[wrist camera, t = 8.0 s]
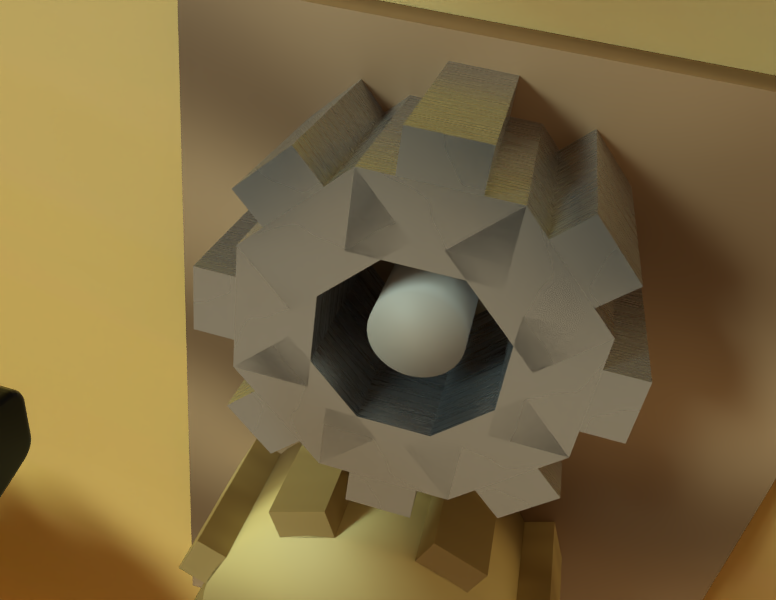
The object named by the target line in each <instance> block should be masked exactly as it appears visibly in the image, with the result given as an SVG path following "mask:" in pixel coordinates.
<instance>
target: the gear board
mask: <svg viewBox="0 0 776 600" xmlns="http://www.w3.org/2000/svg"><path fill="white" fill-rule="evenodd" d="M178 32H179V70H180V109H181V148H182V186H183V225H184V264H185V302H186V341H187V380H188V419H189V457H190V496H191V535H192V546H191V547H190V549H189V551H188V553H187V554H186V556H185V558H184V559H183V561H182V563H181V565H180V566H179V568H180V569H181V570H183V571H185V572H187V573H188V574H190V575H192V576H193V585H194V586H197V587H200V588H201V589H200V591H199V593H198V595H197V596H196V598H195V600H703V598H704V596H705V595H706V593H707V592H708V590H709V588H710V587H711V585H712V583H713V582H714V580H715V578H716V577H717V575H718V573H719V572H720V570H721V568H722V567H723V565H724V564H725V562H726V560H727V559H728V557H729V555H730V554H731V552H732V550H733V549H734V547H735V545H736V544H737V542H738V540H739V539H740V537H741V535H742V534H743V532H744V531H745V529H746V527H747V526H748V524H749V522H750V521H751V519H752V517H753V516H754V514H755V512H756V511H757V509H758V507H759V506H760V504H761V502H762V501H763V499H764V498H765V496H766V494H767V493H768V491H769V489H770V488H771V486H772V484H773V483H774V481H775V479H776V76H774V75H769V74H764V73H759V72H753V71H748V70H743V69H738V68H732V67H727V66H722V65H716V64H711V63H706V62H701V61H695V60H690V59H685V58H680V57H674V56H669V55H664V54H659V53H653V52H648V51H643V50H637V49H632V48H627V47H622V46H616V45H611V44H606V43H601V42H595V41H590V40H585V39H580V38H574V37H569V36H564V35H559V34H553V33H548V32H543V31H537V30H532V29H527V28H522V27H516V26H511V25H506V24H501V23H495V22H490V21H485V20H480V19H474V18H469V17H464V16H458V15H453V14H448V13H443V12H437V11H432V10H427V9H422V8H416V7H411V6H406V5H401V4H395V3H390V2H385V1H379V0H178ZM448 61H452V62H456V63H461V64H466V65H471V66H476V67H481V68H486V69H491V70H495V71H500V72H505V73H510V74H515V75H520V76H519V80H518V84H517V88H516V93H515V97H514V101H513V105H512V110H511V114H510V117H515V118H519V119H524V120H529V121H533V122H538V123H542V124H543V125H544V127H545V128H546V130H547V132H548V133H549V135H550V136H551V138H552V140H553V141H554V143H555V144H556V146H557V147H558V149H559V150H561V149H563V148H565V147H566V146H568V145H570V144H571V143H573V142H575V141H577V140H578V139H580V138H582V137H584V136H585V135H587V134H589V133H591V132H592V131H594V130H596V129H597V130H598V132H599V134H600V135H601V137H602V139H603V140H604V142H605V144H606V145H607V147H608V149H609V150H610V152H611V154H612V155H613V157H614V159H615V160H616V162H617V164H618V165H619V167H620V168H621V170H622V172H623V173H624V175H625V177H626V178H627V180H628V182H629V183H630V185H631V187H632V195H633V204H634V213H635V221H636V230H637V238H638V247H639V255H640V264H641V272H642V281H643V287H642V296H643V305H644V314H645V323H646V332H647V341H648V349H649V358H650V367H651V376H652V384H651V387H650V389H649V391H648V393H647V396H646V398H645V400H644V403H643V405H642V407H641V409H640V412H639V414H638V416H637V419H636V421H635V423H634V425H633V428H632V430H631V432H630V435H629V437H628V439H627V441H626V444H625V443H621V442H617V441H613V440H610V439H606V438H602V437H598V436H595V435H591V434H587V433H583V432H580V431H579V433H578V436H577V438H576V441H575V444H574V446H573V449H572V451H571V454H570V457H569V458H566V459H564V460H562V474H561V493H560V498H559V499H556V500H553V501H550V502H547V503H543V504H540V505H537V506H534V507H531V508H528V509H525V510H522V511H518V512H515V513H512V514H509V515H506V516H503V517H500V518H497V517H496V516H495V514H494V513H493V512H492V511H491V509H490V508H489V507H488V506H487V505H486V503H485V502H484V501H483V500H482V498H481V497H480V496H479V495H478V493H477V492H476V491H472V492H469V493H466V494H463V495H460V496H457V497H454V498H452V499H449V500H447V499H443V498H440V497H436V496H432V495H429V494H425V493H422V492H418V491H417V494H416V498H415V501H414V505H413V508H412V512H411V516H410V518H409V517H405V516H402V515H398V514H395V513H391V512H388V511H384V510H381V509H377V508H374V507H371V506H367V505H364V504H360V503H357V502H353V501H350V500H346V499H345V498H346V491H347V485H348V478H349V472H348V471H344V470H341V469H337V468H334V467H330V466H327V465H323V464H320V463H318V462H317V460H316V459H315V458H314V457H313V456H312V455H311V454H310V453H309V451H308V450H307V449H306V448H305V447H304V446H303V445H302V444H301V442H300V441H298V442H296V443H293V444H291V445H289V446H287V447H284V448H282V449H280V450H278V451H276V452H273V453H270V452H269V451H268V450H267V449H266V448H265V447H264V446H263V445H262V443H261V442H260V441H259V440H258V439H257V438H256V437H255V436H254V435H253V434H252V432H251V431H250V430H249V429H248V428H247V427H246V426H245V425H244V424H243V423H242V421H241V420H240V419H239V418H238V417H237V416H236V415H235V414H234V413H233V412H232V410H231V409H230V408H229V407H228V406H227V404H228V403H229V402H230V400H231V399H232V397H233V396H234V394H235V393H236V391H237V390H238V388H239V387H240V385H241V384H242V382H243V381H244V378H243V377H242V376H241V375H240V374H239V373H238V371H237V370H236V369H235V368H234V367H233V359H234V340H233V339H229V338H226V337H222V336H218V335H214V334H210V333H207V332H203V331H199V330H195V329H194V306H193V266H194V265H195V264H196V263H197V262H198V261H199V260H200V259H201V258H202V256H203V255H204V254H205V253H206V252H207V251H208V250H209V249H210V248H211V247H212V246H213V245H214V244H215V243H216V242H217V241H218V240H219V239H220V238H221V237H222V236H223V235H224V234H225V233H226V232H227V231H228V230H229V229H230V228H231V227H232V226H233V225H234V224H235V223H236V222H237V221H238V220H239V219H240V218H241V217H242V216H243V215H244V214H245V213H246V212H247V211H248V209H247V207H246V206H245V205H244V204H243V202H242V201H241V200H240V199H239V198H238V196H237V195H236V194H235V193H234V191H233V190H232V188H233V187H234V186H235V185H236V184H237V183H238V182H239V181H240V180H242V179H243V178H244V177H245V176H246V175H247V174H248V173H249V172H250V171H251V170H253V169H254V168H255V167H256V166H257V165H258V164H259V163H260V162H261V161H262V160H264V159H265V158H266V157H267V156H268V155H269V154H270V153H271V152H272V151H273V150H275V149H276V148H277V147H278V146H279V145H280V144H281V143H282V142H283V141H284V140H285V139H287V138H288V137H289V136H290V135H291V134H292V133H293V132H294V131H295V130H296V129H298V128H299V127H300V126H301V125H302V124H303V123H304V122H305V121H306V120H307V119H309V118H310V117H311V116H312V115H313V114H315V113H316V112H317V111H319V110H320V109H321V108H323V107H324V106H326V105H327V104H328V103H330V102H331V101H332V100H334V99H335V98H336V97H338V96H339V95H340V94H342V93H343V92H345V91H346V90H347V89H349V88H350V87H351V86H353V85H354V84H355V83H357V82H358V81H359V80H361V79H362V81H363V82H364V83H365V85H366V86H367V88H368V89H369V91H370V92H371V93H372V95H373V96H374V98H375V99H376V101H377V102H378V103H379V105H380V106H381V108H382V109H383V111H384V112H386V111H388V110H389V109H391V108H392V107H394V106H395V105H397V104H398V103H399V102H401V101H402V100H404V99H405V98H407V97H408V96H410V95H411V96H416V97H421V98H423V96H424V95H425V93H426V92H427V91H428V89H429V88H430V86H431V85H432V84H433V82H434V81H435V79H436V78H437V77H438V75H439V74H440V72H441V71H442V70H443V68H444V67H445V65H446V64H447V63H448ZM371 266H372V267H373V268H374V270H375V271H376V272H377V273H378V275H379V276H380V277H381V279H382V280H383V281H384V283H385V285H384V287H383V289H382V291H381V293H380V295H379V297H378V300H377V302H376V304H375V306H374V308H373V310H372V312H371V314H370V316H369V319H368V323H367V335H368V339H369V342H370V345H371V347H372V349H373V351H374V352H375V354H376V355H377V356H378V357H379V358H380V360H381V361H383V362H384V363H385V364H386V365H387V366H389V367H390V368H392V369H394V370H395V371H397V372H400V373H402V374H405V375H408V376H413V377H434V376H438V375H441V374H444V373H446V372H448V371H449V370H451V369H452V368H454V367H455V366H456V365H457V364H458V363H459V361H460V360H461V358H462V356H463V355H464V352H465V349H466V345H467V341H468V337H469V333H470V330H471V326H472V322H473V318H474V316H475V315H478V314H480V313H482V312H484V311H486V310H487V309H486V307H485V306H484V305H483V303H482V302H481V300H480V299H479V298H478V296H477V295H476V294H475V292H474V291H473V289H472V288H471V287H470V285H469V284H468V282H467V281H466V280H462V279H458V278H453V277H449V276H445V275H441V274H437V273H433V272H429V271H425V270H421V269H417V268H412V267H408V266H404V265H400V264H396V263H392V262H388V261H384V260H379V261H378V262H376V263H374V264H372V265H371Z"/></svg>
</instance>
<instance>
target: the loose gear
mask: <svg viewBox="0 0 776 600" xmlns="http://www.w3.org/2000/svg"><path fill="white" fill-rule="evenodd" d="M519 76H520V75H515V74H510V73H505V72H500V71H495V70H491V69H486V68H481V67H476V66H471V65H466V64H461V63H456V62H452V61H448V63H447V64H446V65H445V67H444V68H443V70H442V71H441V72H440V74H439V75H438V77H437V78H436V79H435V81H434V82H433V84H432V85H431V86H430V88H429V89H428V91H427V92H426V93H425V95H424V96H423V98H421V97H416V96H411V95H410V96H408V97H407V98H405V99H404V100H402V101H401V102H399V103H398V104H397V105H395V106H394V107H392V108H391V109H389V110H388V111H386V112H384V111H383V109H382V108H381V106H380V105H379V103H378V102H377V101H376V99H375V98H374V96H373V95H372V93H371V92H370V91H369V89H368V88H367V86H366V85H365V83H364V82H363V81H362V79H361V80H359V81H358V82H357V83H355V84H354V85H353V86H351V87H350V88H349V89H347V90H346V91H345V92H343V93H342V94H340V95H339V96H338V97H336V98H335V99H334V100H332V101H331V102H330V103H328V104H327V105H326V106H324V107H323V108H321V109H320V110H319V111H317V112H316V113H315V114H313V115H312V116H311V117H310V118H309V119H307V120H306V121H305V122H304V123H303V124H302V125H301V126H300V127H299V128H298V129H296V130H295V131H294V132H293V133H292V134H291V135H290V136H289V137H288V138H287V139H285V140H284V141H283V142H282V143H281V144H280V145H279V146H278V147H277V148H276V149H275V150H273V151H272V152H271V153H270V154H269V155H268V156H267V157H266V158H265V159H264V160H262V161H261V162H260V163H259V164H258V165H257V166H256V167H255V168H254V169H253V170H251V171H250V172H249V173H248V174H247V175H246V176H245V177H244V178H243V179H242V180H240V181H239V182H238V183H237V184H236V185H235V186H234V187H233V188H232V190H233V191H234V193H235V194H236V195H237V196H238V198H239V199H240V200H241V201H242V202H243V204H244V205H245V206H246V207H247V209H248V211H247V212H246V213H245V214H244V215H243V216H242V217H241V218H240V219H239V220H238V221H237V222H236V223H235V224H234V225H233V226H232V227H231V228H230V229H229V230H228V231H227V232H226V233H225V234H224V235H223V236H222V237H221V238H220V239H219V240H218V241H217V242H216V243H215V244H214V245H213V246H212V247H211V248H210V249H209V250H208V251H207V252H206V253H205V254H204V255H203V256H202V258H201V259H200V260H199V261H198V262H197V263H196V264H195V265H194V266H193V306H194V329H195V330H199V331H203V332H207V333H210V334H214V335H218V336H222V337H226V338H229V339H233V340H234V359H233V367H234V368H235V369H236V370H237V371H238V373H239V374H240V375H241V376H242V377H243V378H244V381H243V382H242V384H241V385H240V387H239V388H238V390H237V391H236V393H235V394H234V396H233V397H232V399H231V400H230V402H229V403H228V404H227V406H228V407H229V408H230V409H231V410H232V412H233V413H234V414H235V415H236V416H237V417H238V418H239V419H240V420H241V421H242V423H243V424H244V425H245V426H246V427H247V428H248V429H249V430H250V431H251V432H252V434H253V435H254V436H255V437H256V438H257V439H258V440H259V441H260V442H261V443H262V445H263V446H264V447H265V448H266V449H267V450H268V451H269V452H270V453H273V452H276V451H278V450H280V449H282V448H284V447H287V446H289V445H291V444H293V443H296V442H298V441H300V442H301V444H302V445H303V446H304V447H305V448H306V449H307V450H308V451H309V453H310V454H311V455H312V456H313V457H314V458H315V459H316V460H317V462H318V463H320V464H323V465H327V466H330V467H334V468H337V469H341V470H344V471H348V472H349V478H348V485H347V491H346V498H345V499H346V500H350V501H353V502H357V503H360V504H364V505H367V506H371V507H374V508H377V509H381V510H384V511H388V512H391V513H395V514H398V515H402V516H405V517H409V518H410V516H411V512H412V508H413V505H414V501H415V498H416V494H417V491H418V492H422V493H425V494H429V495H432V496H436V497H440V498H443V499H447V500H449V499H452V498H454V497H457V496H460V495H463V494H466V493H469V492H472V491H476V492H477V493H478V495H479V496H480V497H481V498H482V500H483V501H484V502H485V503H486V505H487V506H488V507H489V508H490V509H491V511H492V512H493V513H494V514H495V516H496V517H497V518H500V517H503V516H506V515H509V514H512V513H515V512H518V511H522V510H525V509H528V508H531V507H534V506H537V505H540V504H543V503H547V502H550V501H553V500H556V499H559V498H560V493H561V474H562V460H564V459H566V458H569V457H570V454H571V451H572V449H573V446H574V444H575V441H576V438H577V436H578V433H579V431H580V432H583V433H587V434H591V435H595V436H598V437H602V438H606V439H610V440H613V441H617V442H621V443H625V444H626V441H627V439H628V437H629V435H630V432H631V430H632V428H633V425H634V423H635V421H636V419H637V416H638V414H639V412H640V409H641V407H642V405H643V403H644V400H645V398H646V396H647V393H648V391H649V389H650V387H651V384H652V376H651V367H650V358H649V349H648V341H647V332H646V323H645V314H644V305H643V296H642V287H643V281H642V272H641V264H640V255H639V247H638V238H637V230H636V221H635V213H634V204H633V195H632V187H631V185H630V183H629V182H628V180H627V178H626V177H625V175H624V173H623V172H622V170H621V168H620V167H619V165H618V164H617V162H616V160H615V159H614V157H613V155H612V154H611V152H610V150H609V149H608V147H607V145H606V144H605V142H604V140H603V139H602V137H601V135H600V134H599V132H598V130H597V129H596V130H594V131H592V132H591V133H589V134H587V135H585V136H584V137H582V138H580V139H578V140H577V141H575V142H573V143H571V144H570V145H568V146H566V147H565V148H563V149H561V150H559V149H558V147H557V146H556V144H555V143H554V141H553V140H552V138H551V136H550V135H549V133H548V132H547V130H546V128H545V127H544V125H543V124H542V123H538V122H533V121H529V120H524V119H519V118H515V117H510V114H511V110H512V105H513V101H514V97H515V93H516V88H517V84H518V80H519ZM379 260H384V261H388V262H392V263H396V264H400V265H404V266H408V267H412V268H417V269H421V270H425V271H429V272H433V273H437V274H441V275H445V276H449V277H453V278H458V279H462V280H466V281H467V282H468V284H469V285H470V287H471V288H472V289H473V291H474V292H475V294H476V295H477V296H478V298H479V299H480V300H481V302H482V303H483V305H484V306H485V307H486V309H487V310H486V311H484V312H482V313H480V314H478V315H475V316H474V318H473V322H472V326H471V330H470V333H469V337H468V341H467V345H466V349H465V352H464V355H463V356H462V358H461V360H460V361H459V363H458V364H457V365H456V366H455V367H454V368H452V369H451V370H449V371H448V372H446V373H444V374H441V375H438V376H434V377H413V376H408V375H405V374H402V373H400V372H397V371H395V370H394V369H392V368H390V367H389V366H387V365H386V364H385V363H384V362H383V361H381V360H380V358H379V357H378V356H377V355H376V354H375V352H374V351H373V349H372V347H371V345H370V342H369V339H368V335H367V323H368V319H369V316H370V314H371V312H372V310H373V308H374V306H375V304H376V302H377V300H378V297H379V295H380V293H381V291H382V289H383V287H384V285H385V283H384V281H383V280H382V279H381V277H380V276H379V275H378V273H377V272H376V271H375V270H374V268H373V267H372V266H371V265H372V264H374V263H376V262H378V261H379Z"/></svg>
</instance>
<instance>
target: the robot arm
mask: <svg viewBox="0 0 776 600" xmlns="http://www.w3.org/2000/svg"><path fill="white" fill-rule="evenodd" d="M30 444H31V434H30V429H29V423H28V418H27V413H26V407H25V402H24V398H23V396H22V395H21V394H20V392H18V391H16V390H14V389H10V388H7V387H3V386H0V497H1V495H2V494H3V492H4V491H5V489H6V488H7V486H8V484H9V483H10V481H11V480H12V478H13V477H14V475H15V473H16V472H17V470H18V469H19V467H20V466H21V464H22V462H23V461H24V459H25V458H26V456H27V453H28V451H29V448H30Z"/></svg>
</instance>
